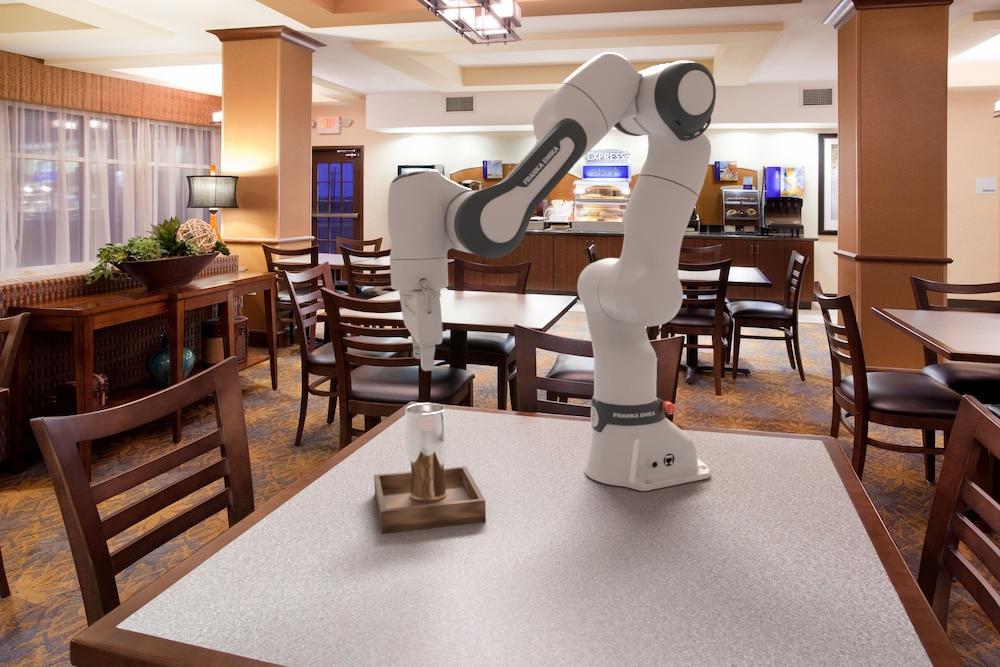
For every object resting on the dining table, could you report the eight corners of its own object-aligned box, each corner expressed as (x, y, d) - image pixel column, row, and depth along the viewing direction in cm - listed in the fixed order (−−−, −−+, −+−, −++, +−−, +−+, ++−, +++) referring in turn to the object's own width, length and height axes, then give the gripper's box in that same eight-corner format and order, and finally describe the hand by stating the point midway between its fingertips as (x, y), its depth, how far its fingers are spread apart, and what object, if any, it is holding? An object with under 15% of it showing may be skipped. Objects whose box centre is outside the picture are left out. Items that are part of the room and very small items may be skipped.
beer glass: (443, 504, 117) (440, 415, 114) (401, 501, 118) (398, 413, 115) (453, 487, 123) (451, 403, 121) (414, 485, 125) (411, 401, 122)
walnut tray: (466, 485, 128) (465, 466, 127) (485, 521, 112) (485, 500, 112) (374, 494, 124) (373, 474, 123) (381, 533, 109) (381, 511, 108)
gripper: (450, 281, 103) (454, 376, 105) (430, 270, 122) (434, 350, 125) (406, 283, 101) (411, 379, 104) (393, 272, 121) (397, 353, 123)
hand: (423, 363), depth 114 cm, fingers open, 8 cm apart
